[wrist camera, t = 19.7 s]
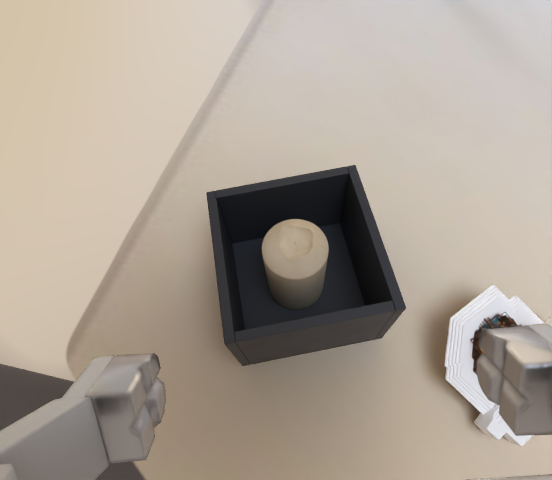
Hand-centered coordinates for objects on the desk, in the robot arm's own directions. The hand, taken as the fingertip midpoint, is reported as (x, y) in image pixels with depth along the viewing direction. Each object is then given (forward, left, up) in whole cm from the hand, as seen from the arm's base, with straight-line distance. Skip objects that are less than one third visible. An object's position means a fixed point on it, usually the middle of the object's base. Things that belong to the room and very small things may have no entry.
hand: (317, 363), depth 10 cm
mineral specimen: (+18, +1, -28) cm, 33 cm away
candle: (+2, +12, -27) cm, 30 cm away
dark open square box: (+2, +12, -27) cm, 30 cm away
